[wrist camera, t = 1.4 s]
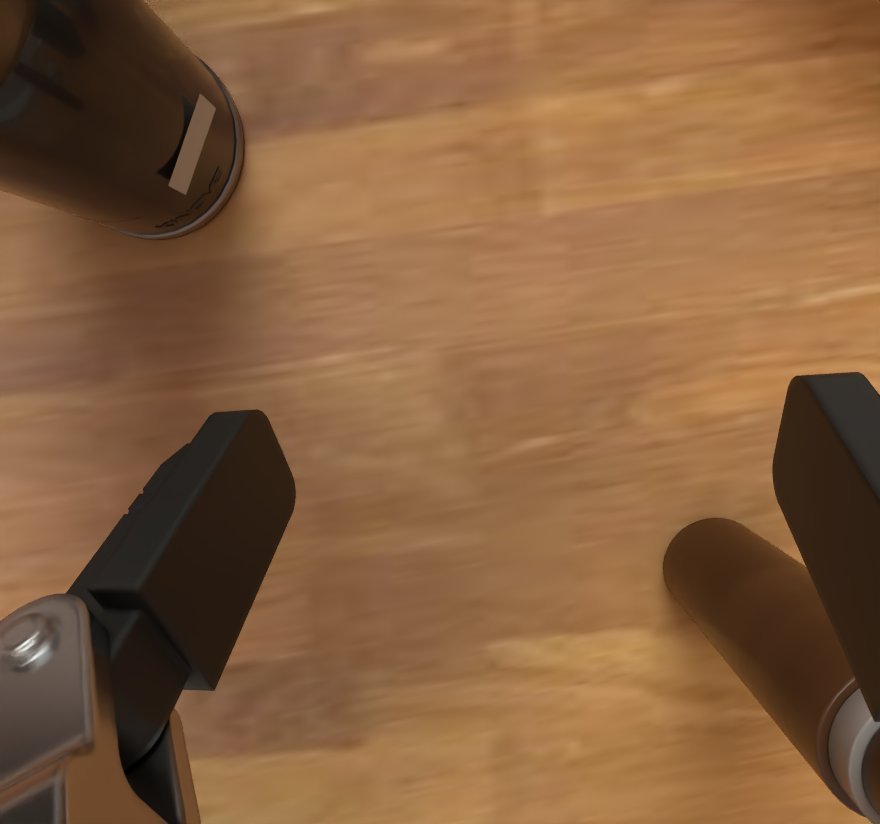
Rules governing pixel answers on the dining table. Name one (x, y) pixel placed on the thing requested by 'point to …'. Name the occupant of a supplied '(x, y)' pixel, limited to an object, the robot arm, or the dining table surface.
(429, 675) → the dining table surface
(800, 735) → the pepper mill
